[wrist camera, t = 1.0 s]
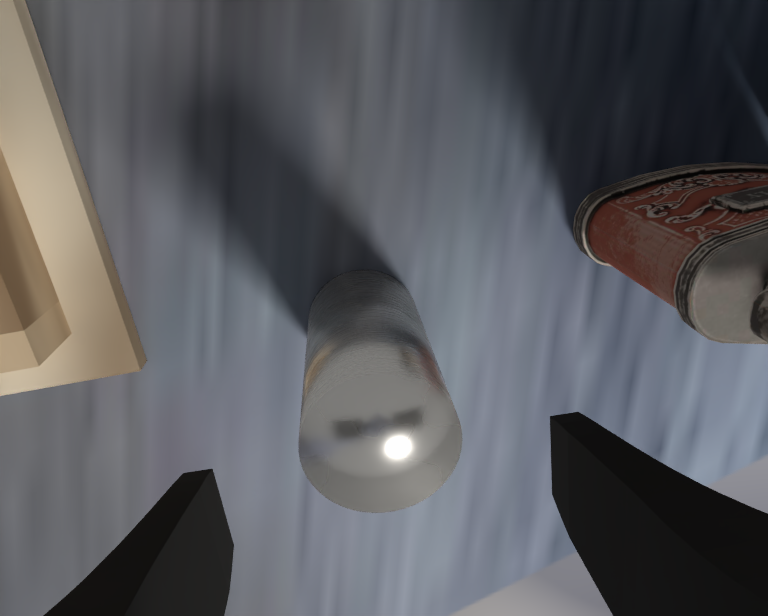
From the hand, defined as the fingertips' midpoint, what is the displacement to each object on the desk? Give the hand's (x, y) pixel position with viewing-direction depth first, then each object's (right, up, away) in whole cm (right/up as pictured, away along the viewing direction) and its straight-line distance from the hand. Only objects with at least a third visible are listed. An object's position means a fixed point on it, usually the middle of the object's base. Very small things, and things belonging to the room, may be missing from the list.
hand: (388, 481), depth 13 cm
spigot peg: (-1, +3, +9) cm, 10 cm away
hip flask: (+11, +7, +9) cm, 16 cm away
